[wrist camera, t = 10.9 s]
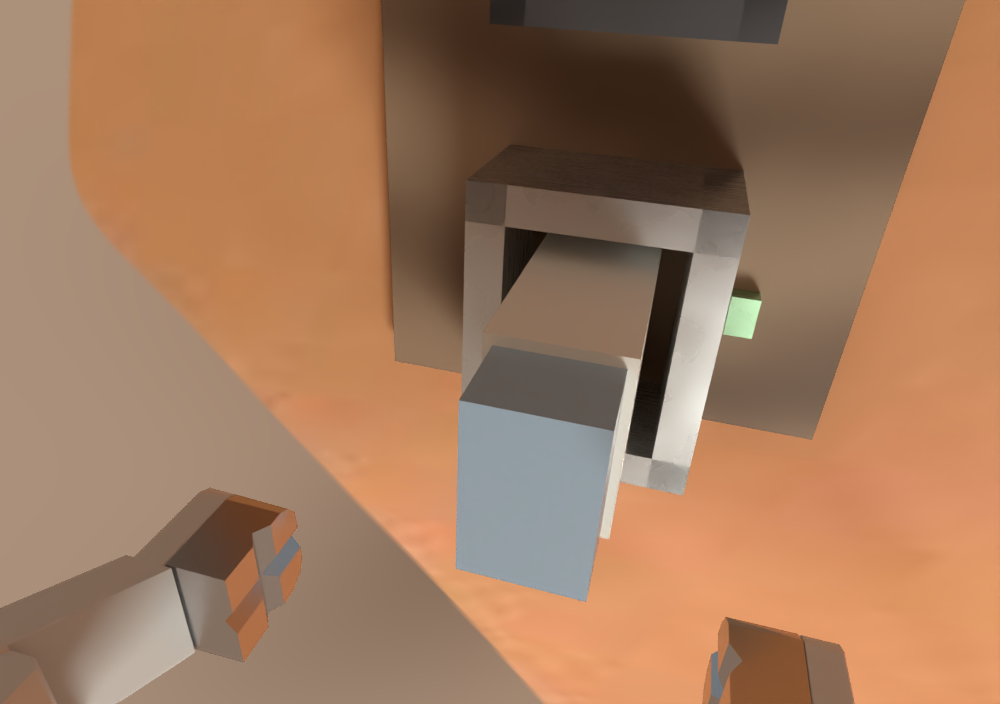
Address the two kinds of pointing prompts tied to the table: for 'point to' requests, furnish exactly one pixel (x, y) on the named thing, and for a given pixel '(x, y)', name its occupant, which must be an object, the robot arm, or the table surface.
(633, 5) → the dark grey hollow frame
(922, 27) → the board
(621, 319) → the plug
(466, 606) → the table surface
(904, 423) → the table surface
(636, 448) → the frame
